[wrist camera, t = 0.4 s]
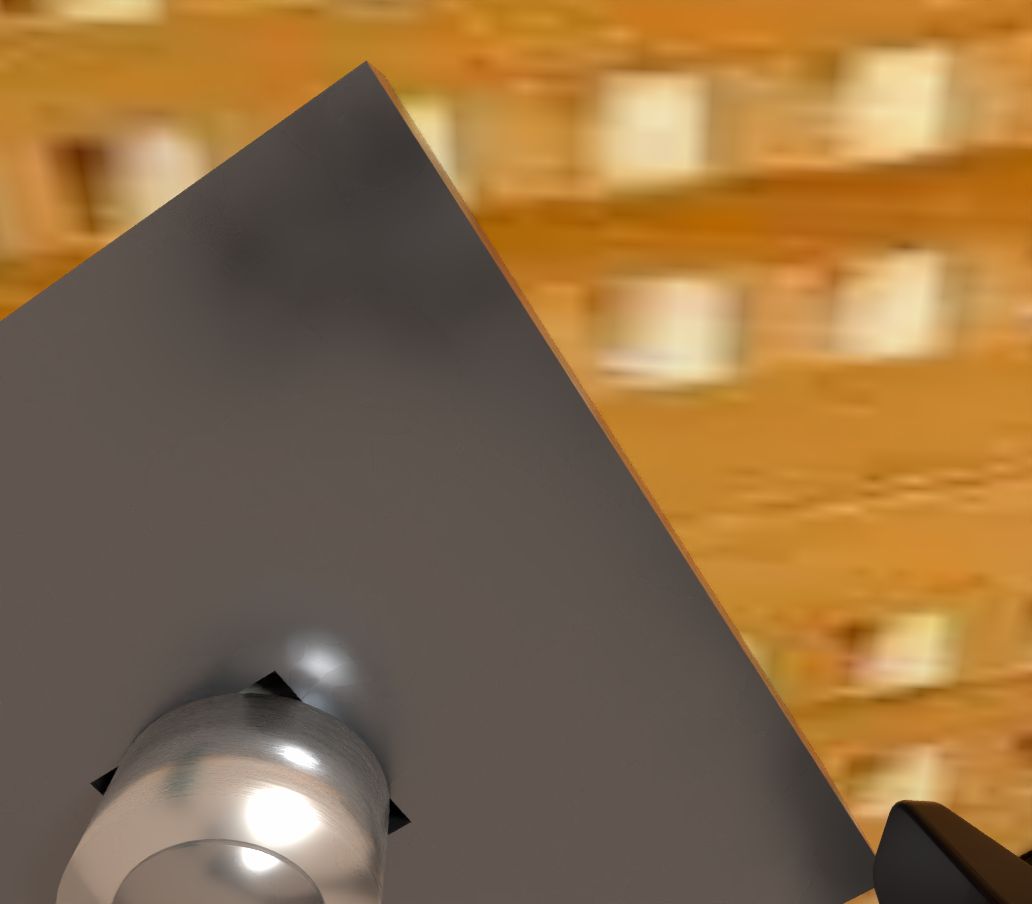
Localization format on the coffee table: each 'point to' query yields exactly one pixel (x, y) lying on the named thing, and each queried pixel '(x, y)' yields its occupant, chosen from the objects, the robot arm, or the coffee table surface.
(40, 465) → the bore block
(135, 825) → the end cover
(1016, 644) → the coffee table surface
